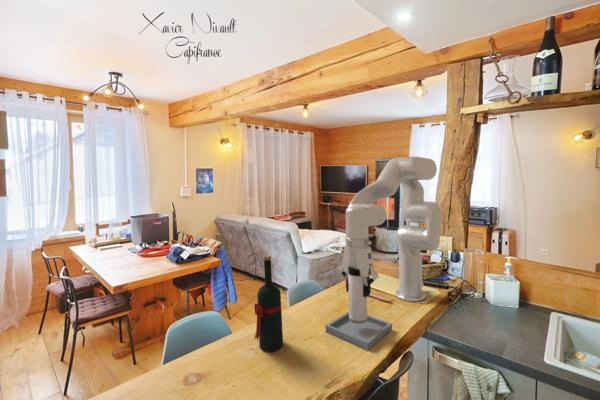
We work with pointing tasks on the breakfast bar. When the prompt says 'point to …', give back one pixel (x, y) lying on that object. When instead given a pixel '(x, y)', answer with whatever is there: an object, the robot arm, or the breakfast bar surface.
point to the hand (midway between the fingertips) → (358, 292)
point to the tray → (359, 330)
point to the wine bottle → (269, 313)
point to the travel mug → (356, 297)
